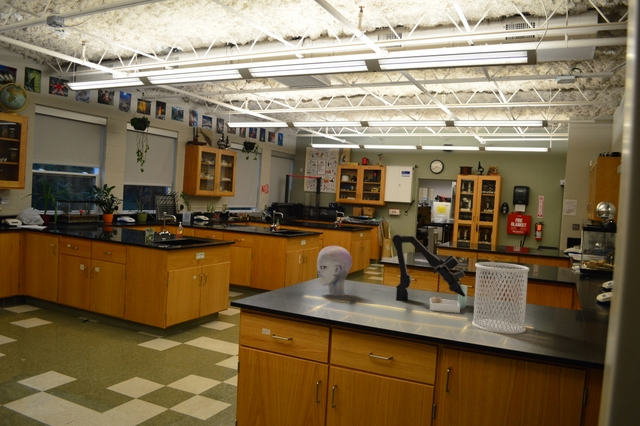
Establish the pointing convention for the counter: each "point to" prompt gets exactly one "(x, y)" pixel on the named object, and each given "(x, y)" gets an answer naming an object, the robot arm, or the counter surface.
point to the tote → (445, 306)
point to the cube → (437, 300)
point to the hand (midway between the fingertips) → (464, 295)
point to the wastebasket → (496, 323)
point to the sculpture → (334, 268)
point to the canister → (462, 299)
